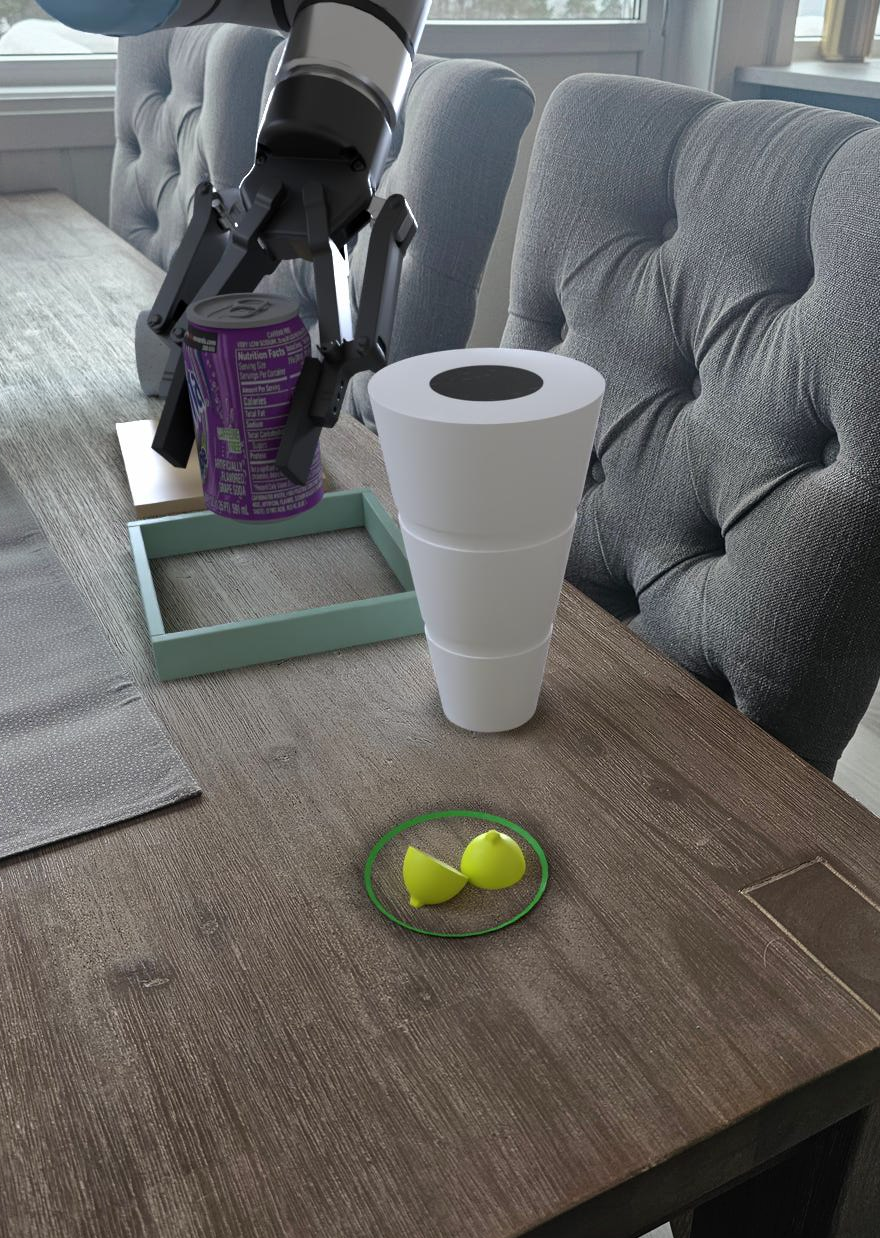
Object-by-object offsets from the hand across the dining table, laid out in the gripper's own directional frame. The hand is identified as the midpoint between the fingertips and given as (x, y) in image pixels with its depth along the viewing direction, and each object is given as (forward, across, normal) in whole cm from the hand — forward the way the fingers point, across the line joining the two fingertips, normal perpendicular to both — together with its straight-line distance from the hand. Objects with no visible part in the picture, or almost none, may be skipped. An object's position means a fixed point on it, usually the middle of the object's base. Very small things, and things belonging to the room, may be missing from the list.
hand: (228, 466), depth 63 cm
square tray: (+5, 0, -10) cm, 11 cm away
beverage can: (+1, 0, -5) cm, 5 cm away
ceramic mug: (-19, +27, -34) cm, 48 cm away
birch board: (-8, +15, -22) cm, 28 cm away
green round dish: (+19, -20, +5) cm, 28 cm away
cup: (+10, -17, -4) cm, 20 cm away
